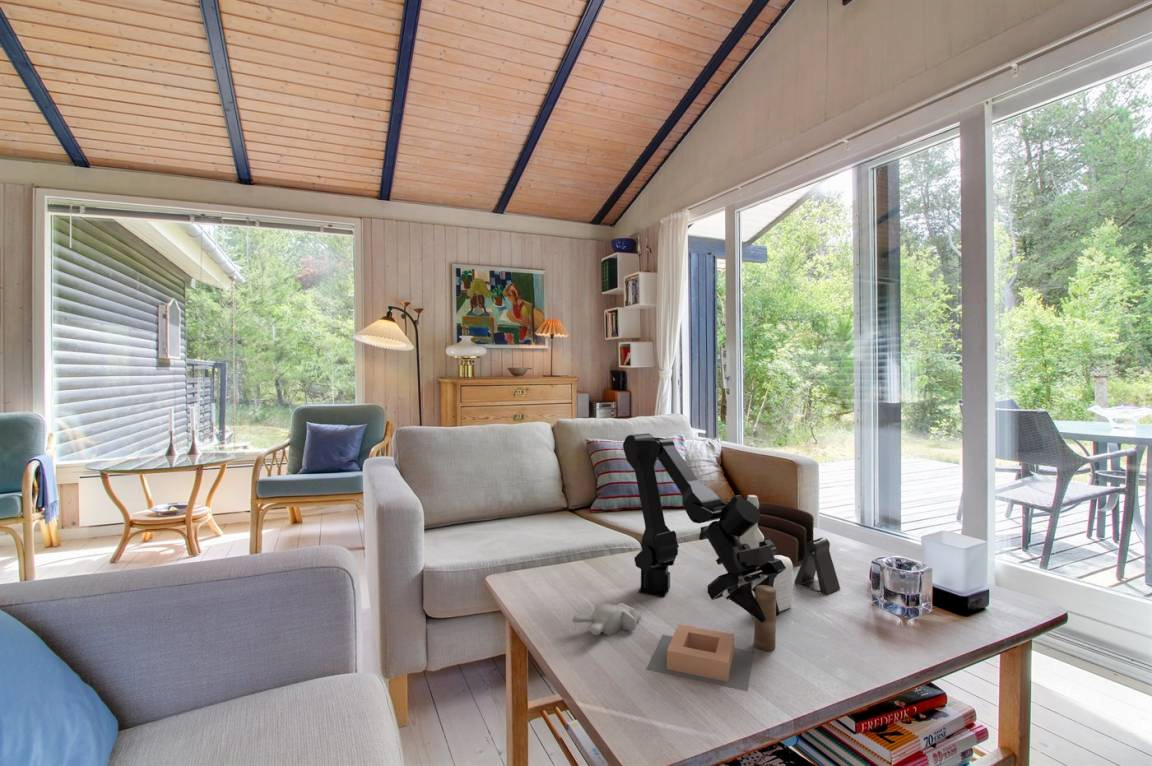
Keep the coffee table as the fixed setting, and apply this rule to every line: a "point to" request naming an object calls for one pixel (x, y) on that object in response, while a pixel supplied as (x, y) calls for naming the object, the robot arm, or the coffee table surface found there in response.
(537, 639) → the coffee table surface
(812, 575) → the phone stand
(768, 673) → the coffee table surface
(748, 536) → the faceted bottle
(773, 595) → the walnut peg
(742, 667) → the mat
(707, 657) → the socket block
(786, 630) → the coffee table surface
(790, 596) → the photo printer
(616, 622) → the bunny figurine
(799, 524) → the letter holder
